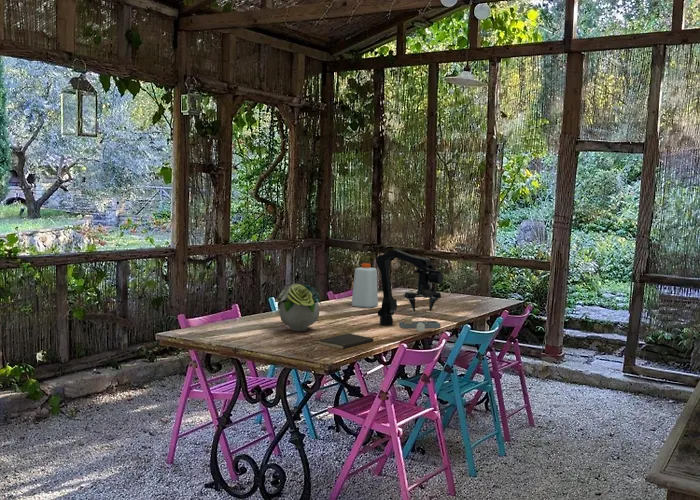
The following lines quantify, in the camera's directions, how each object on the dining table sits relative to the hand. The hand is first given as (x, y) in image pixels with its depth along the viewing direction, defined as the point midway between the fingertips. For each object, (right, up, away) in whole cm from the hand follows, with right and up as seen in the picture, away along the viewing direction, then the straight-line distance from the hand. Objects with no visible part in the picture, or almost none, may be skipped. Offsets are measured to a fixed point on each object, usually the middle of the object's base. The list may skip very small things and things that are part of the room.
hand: (422, 311), depth 341 cm
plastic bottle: (-29, -5, +82) cm, 87 cm away
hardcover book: (-40, -13, -30) cm, 52 cm away
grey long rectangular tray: (0, -11, +10) cm, 15 cm away
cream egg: (-1, -11, 0) cm, 11 cm away
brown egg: (-7, -9, +8) cm, 14 cm away
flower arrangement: (-65, -10, -2) cm, 66 cm away
